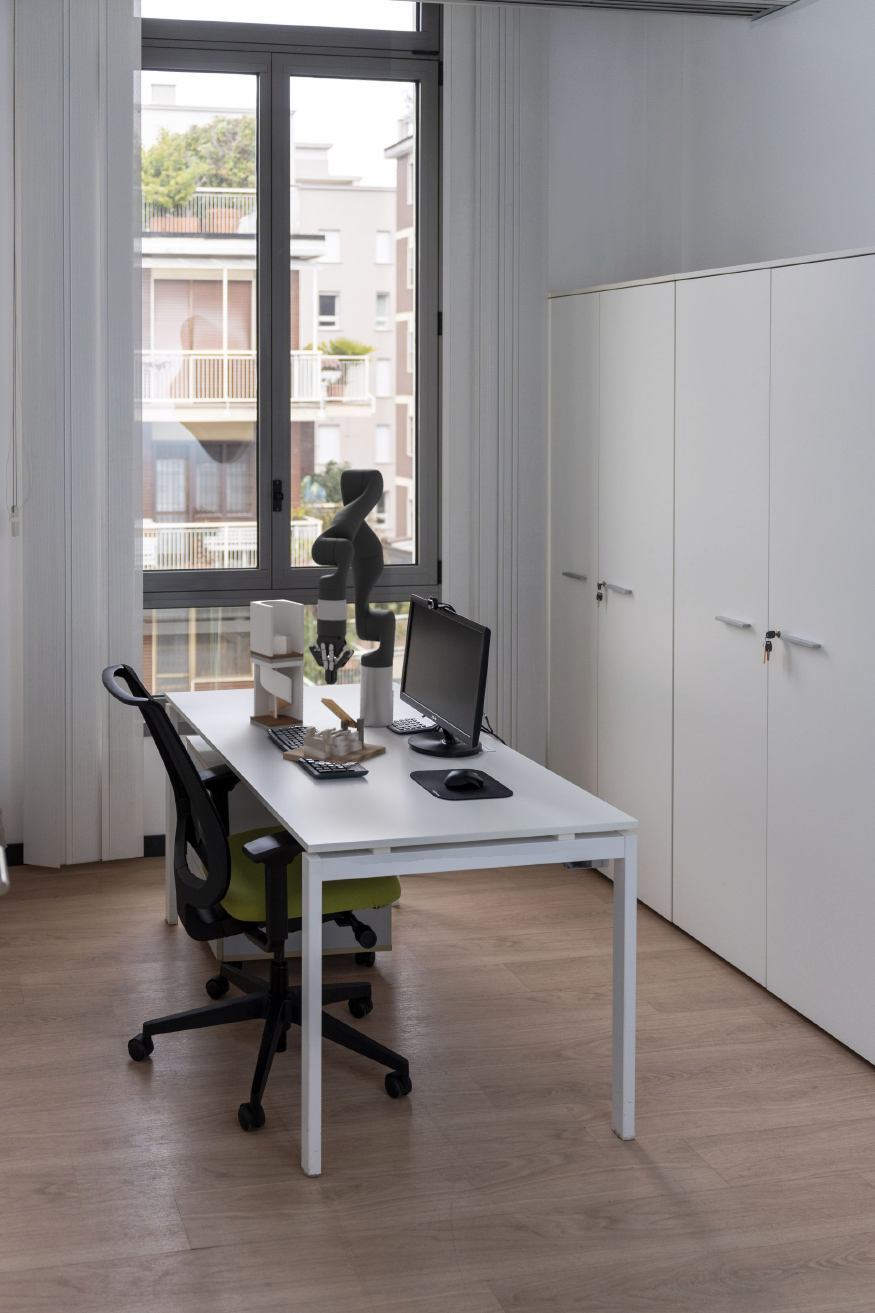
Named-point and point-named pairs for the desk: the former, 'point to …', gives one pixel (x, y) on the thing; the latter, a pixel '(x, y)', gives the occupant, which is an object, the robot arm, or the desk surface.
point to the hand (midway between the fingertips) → (330, 683)
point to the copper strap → (339, 712)
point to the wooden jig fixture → (335, 745)
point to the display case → (277, 663)
